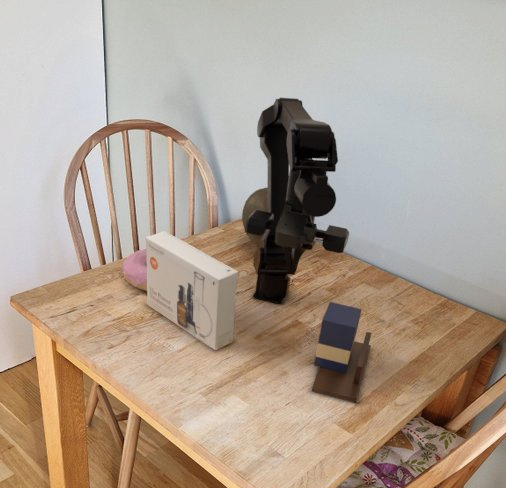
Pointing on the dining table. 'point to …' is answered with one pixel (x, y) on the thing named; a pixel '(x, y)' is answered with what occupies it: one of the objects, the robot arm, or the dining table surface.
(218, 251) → the dining table surface
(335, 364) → the tea box
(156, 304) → the skincare box
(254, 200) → the cantaloupe
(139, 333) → the dining table surface
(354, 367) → the walnut stand
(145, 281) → the donut
